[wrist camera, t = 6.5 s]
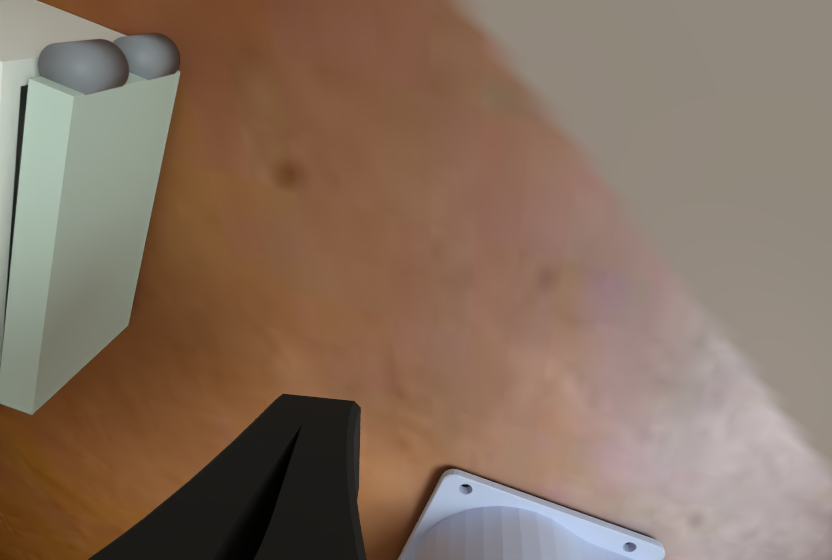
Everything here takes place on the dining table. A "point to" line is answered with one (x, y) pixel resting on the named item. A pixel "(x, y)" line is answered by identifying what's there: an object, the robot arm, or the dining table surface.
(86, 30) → the cabinet
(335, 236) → the dining table surface
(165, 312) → the dining table surface
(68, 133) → the cabinet door
